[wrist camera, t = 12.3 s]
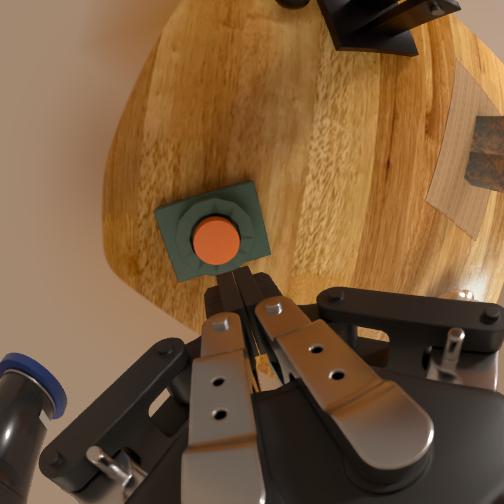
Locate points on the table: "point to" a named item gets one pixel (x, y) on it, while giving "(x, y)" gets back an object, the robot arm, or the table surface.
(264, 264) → the table surface
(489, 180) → the architectural model on board
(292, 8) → the lever
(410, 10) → the bracket
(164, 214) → the button box
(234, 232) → the button
